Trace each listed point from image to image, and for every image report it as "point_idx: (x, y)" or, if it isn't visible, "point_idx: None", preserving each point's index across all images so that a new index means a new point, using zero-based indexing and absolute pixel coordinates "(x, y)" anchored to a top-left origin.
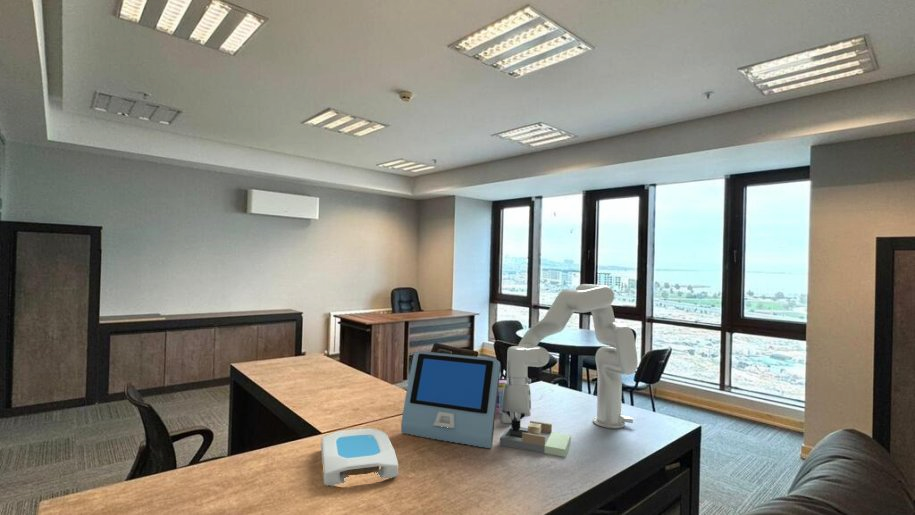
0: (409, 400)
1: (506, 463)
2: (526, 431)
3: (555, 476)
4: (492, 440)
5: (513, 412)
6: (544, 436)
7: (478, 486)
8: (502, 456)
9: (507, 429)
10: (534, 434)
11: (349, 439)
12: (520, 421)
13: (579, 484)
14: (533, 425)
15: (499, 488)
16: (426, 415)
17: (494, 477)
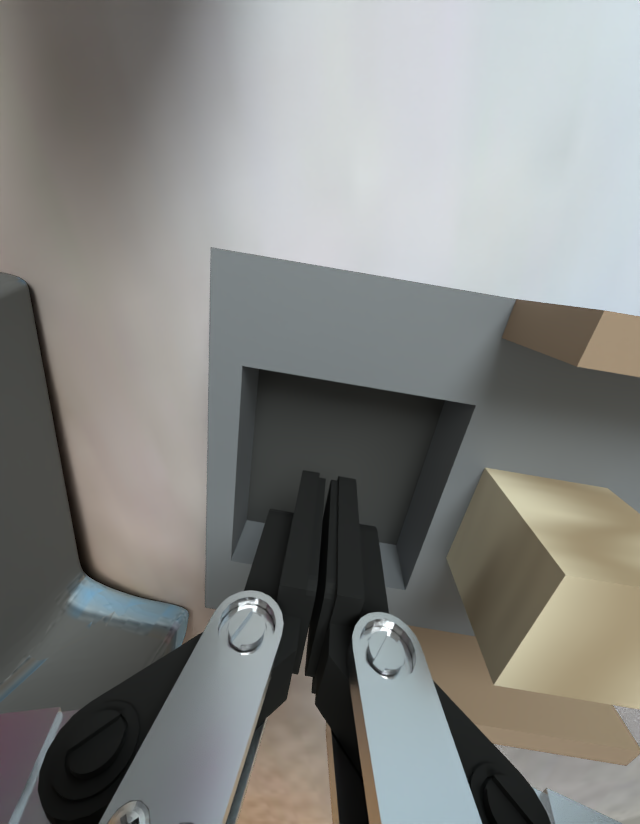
0: None
1: (308, 716)
2: (445, 396)
3: (530, 770)
4: (168, 651)
5: (206, 764)
6: (627, 759)
7: (243, 816)
8: None
9: (216, 415)
10: (528, 737)
11: None
12: (386, 598)
13: (618, 800)
14: (586, 660)
15: (310, 820)
16: None
17: (280, 785)
